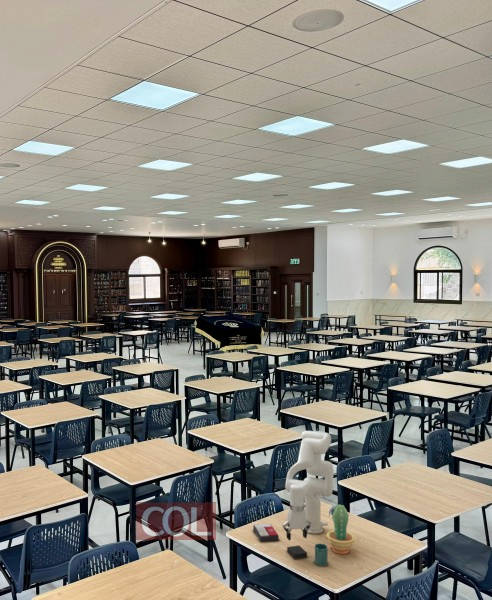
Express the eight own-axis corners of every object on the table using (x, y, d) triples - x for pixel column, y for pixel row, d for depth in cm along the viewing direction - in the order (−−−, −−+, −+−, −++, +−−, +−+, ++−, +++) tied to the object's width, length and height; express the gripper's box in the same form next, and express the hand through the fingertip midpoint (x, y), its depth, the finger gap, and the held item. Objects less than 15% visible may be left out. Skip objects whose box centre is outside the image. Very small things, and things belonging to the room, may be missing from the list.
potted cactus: (343, 541, 319) (343, 499, 319) (361, 553, 305) (361, 509, 304) (320, 546, 314) (320, 502, 313) (337, 558, 300) (337, 513, 299)
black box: (299, 549, 310) (299, 545, 310) (307, 557, 301) (307, 552, 301) (287, 551, 308) (287, 546, 308) (294, 559, 299) (294, 554, 299)
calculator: (260, 535, 319) (253, 523, 334) (260, 542, 320) (253, 530, 334) (278, 534, 321) (270, 522, 336) (278, 541, 321) (270, 529, 336)
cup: (323, 559, 299) (323, 542, 299) (329, 565, 293) (329, 548, 293) (312, 560, 297) (312, 544, 297) (318, 566, 291) (318, 549, 291)
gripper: (307, 503, 310) (307, 533, 310) (279, 506, 305) (279, 537, 305) (314, 508, 302) (314, 539, 303) (285, 511, 298) (285, 543, 298)
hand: (296, 538), depth 304 cm, fingers open, 9 cm apart
